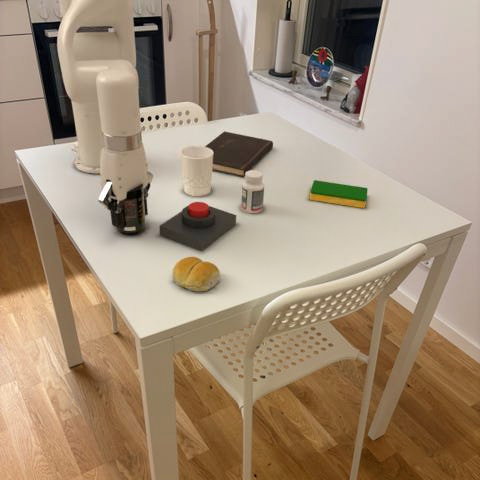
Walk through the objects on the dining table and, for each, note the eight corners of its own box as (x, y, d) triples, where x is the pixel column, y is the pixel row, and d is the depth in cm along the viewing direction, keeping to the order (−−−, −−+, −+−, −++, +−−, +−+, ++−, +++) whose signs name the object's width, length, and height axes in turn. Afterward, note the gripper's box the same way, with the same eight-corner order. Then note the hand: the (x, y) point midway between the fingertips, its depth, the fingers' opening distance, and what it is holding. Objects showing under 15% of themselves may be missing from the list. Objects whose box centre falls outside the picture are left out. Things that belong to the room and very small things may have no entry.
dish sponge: (312, 188, 135) (314, 179, 133) (365, 196, 133) (367, 187, 131) (309, 200, 129) (310, 191, 128) (364, 208, 127) (366, 199, 126)
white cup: (208, 199, 127) (208, 160, 120) (177, 195, 128) (176, 156, 121) (215, 186, 133) (216, 148, 126) (186, 182, 134) (185, 144, 127)
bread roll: (189, 262, 105) (189, 245, 102) (225, 278, 101) (226, 260, 99) (163, 281, 99) (162, 264, 97) (200, 298, 96) (200, 280, 93)
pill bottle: (265, 206, 126) (268, 171, 120) (258, 215, 122) (261, 180, 116) (244, 201, 127) (246, 167, 121) (237, 211, 123) (239, 175, 117)
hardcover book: (190, 165, 142) (190, 157, 140) (224, 138, 158) (224, 131, 157) (244, 177, 137) (244, 169, 136) (272, 148, 154) (273, 141, 153)
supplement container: (145, 220, 117) (141, 177, 111) (147, 235, 112) (144, 191, 106) (114, 222, 116) (109, 178, 109) (116, 237, 111) (110, 193, 104)
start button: (184, 214, 112) (184, 207, 111) (196, 207, 115) (196, 199, 114) (201, 220, 110) (201, 213, 109) (212, 212, 113) (212, 205, 112)
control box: (159, 235, 112) (158, 217, 110) (196, 211, 122) (196, 193, 119) (201, 251, 108) (201, 232, 106) (235, 224, 118) (236, 206, 115)
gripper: (136, 123, 109) (142, 201, 120) (76, 148, 97) (89, 231, 108) (164, 131, 106) (168, 210, 117) (106, 158, 94) (116, 242, 105)
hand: (130, 219), depth 113 cm, fingers closed on supplement container, 6 cm apart
